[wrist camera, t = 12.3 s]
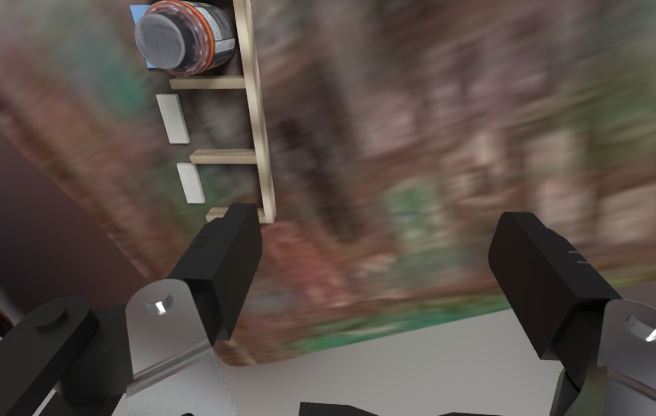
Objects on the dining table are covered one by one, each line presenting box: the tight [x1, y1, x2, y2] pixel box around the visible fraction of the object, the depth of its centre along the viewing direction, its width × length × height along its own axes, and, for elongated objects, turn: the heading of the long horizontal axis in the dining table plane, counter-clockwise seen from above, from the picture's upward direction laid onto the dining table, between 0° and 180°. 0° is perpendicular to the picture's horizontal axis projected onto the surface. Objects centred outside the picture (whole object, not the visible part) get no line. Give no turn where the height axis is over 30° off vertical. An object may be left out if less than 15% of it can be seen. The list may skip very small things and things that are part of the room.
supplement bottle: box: [135, 0, 237, 77], centre depth 29 cm, size 6×6×11 cm
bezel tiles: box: [130, 5, 205, 203], centre depth 39 cm, size 24×2×1 cm, turn 1°
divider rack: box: [169, 0, 277, 223], centre depth 38 cm, size 28×10×2 cm, turn 1°
